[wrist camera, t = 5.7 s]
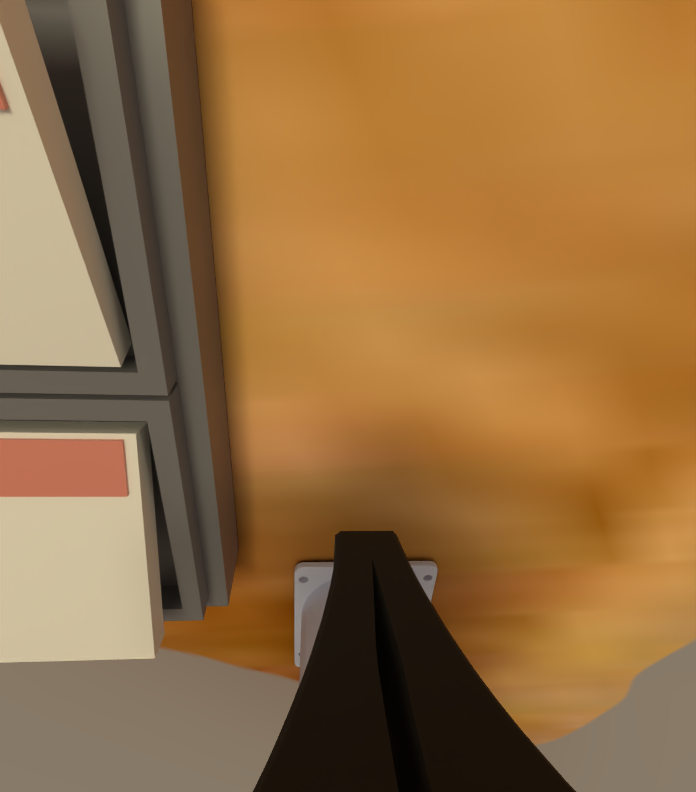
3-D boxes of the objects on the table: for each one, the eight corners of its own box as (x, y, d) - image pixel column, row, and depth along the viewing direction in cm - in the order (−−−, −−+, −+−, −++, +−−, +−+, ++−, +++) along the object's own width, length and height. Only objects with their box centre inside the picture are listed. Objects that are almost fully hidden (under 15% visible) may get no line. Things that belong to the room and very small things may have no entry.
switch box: (238, 547, 25) (224, 629, 21) (43, 549, 24) (-11, 634, 20) (186, -60, 13) (129, -141, 9) (-205, -97, 12) (-459, -202, 8)
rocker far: (164, 634, 19) (153, 661, 18) (7, 638, 18) (-16, 666, 17) (148, 422, 17) (134, 435, 15) (-33, 419, 16) (-63, 433, 15)
